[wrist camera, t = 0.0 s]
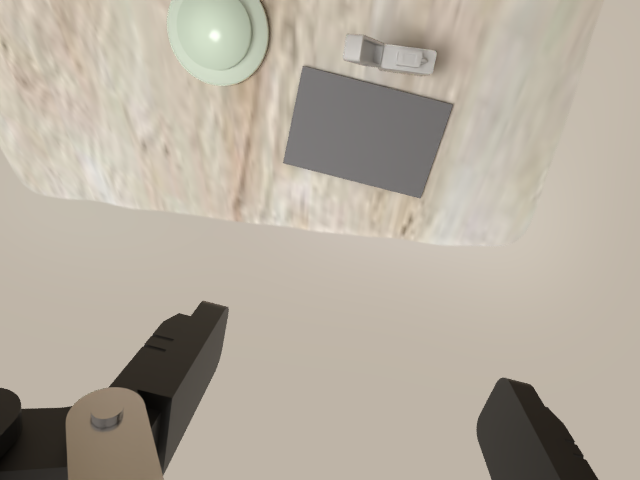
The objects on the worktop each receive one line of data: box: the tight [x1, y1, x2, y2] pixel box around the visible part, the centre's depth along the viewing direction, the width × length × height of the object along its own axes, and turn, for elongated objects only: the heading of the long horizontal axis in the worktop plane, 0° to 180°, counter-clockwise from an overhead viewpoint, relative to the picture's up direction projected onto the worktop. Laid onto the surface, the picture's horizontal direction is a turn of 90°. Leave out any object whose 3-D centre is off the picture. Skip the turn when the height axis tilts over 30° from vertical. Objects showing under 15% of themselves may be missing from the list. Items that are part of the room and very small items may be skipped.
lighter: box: [343, 34, 437, 76], centre depth 31 cm, size 7×2×8 cm, turn 83°
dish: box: [167, 0, 269, 86], centre depth 34 cm, size 9×9×2 cm
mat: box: [283, 66, 453, 198], centre depth 37 cm, size 9×14×1 cm, turn 77°
